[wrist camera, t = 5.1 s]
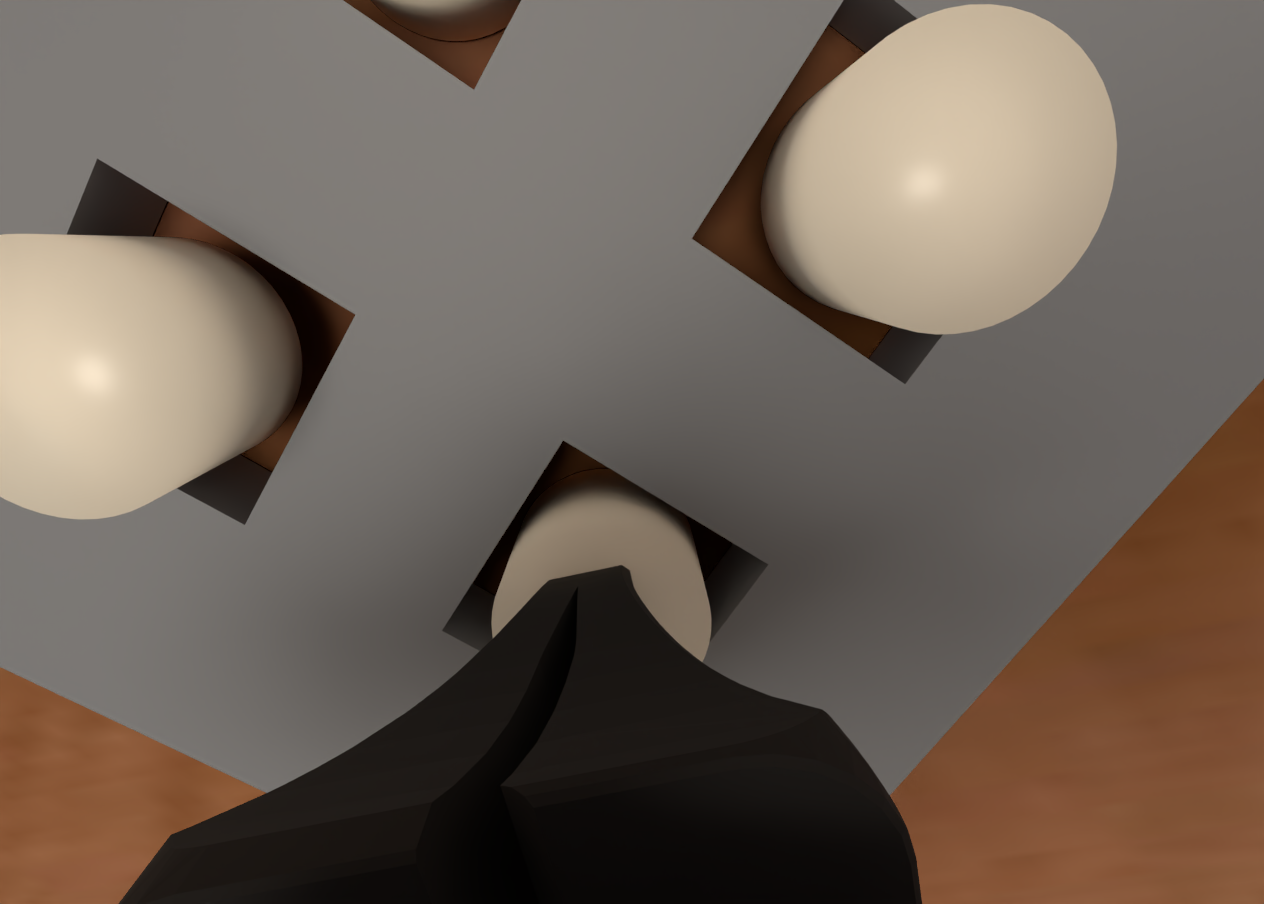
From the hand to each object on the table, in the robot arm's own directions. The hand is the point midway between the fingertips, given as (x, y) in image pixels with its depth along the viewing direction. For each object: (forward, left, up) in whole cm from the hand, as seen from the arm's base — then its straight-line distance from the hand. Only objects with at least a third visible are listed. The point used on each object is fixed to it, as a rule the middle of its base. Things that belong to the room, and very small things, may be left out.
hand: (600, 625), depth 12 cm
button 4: (+8, 0, -1) cm, 8 cm away
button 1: (0, -8, -1) cm, 8 cm away
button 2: (0, 0, -3) cm, 3 cm away
